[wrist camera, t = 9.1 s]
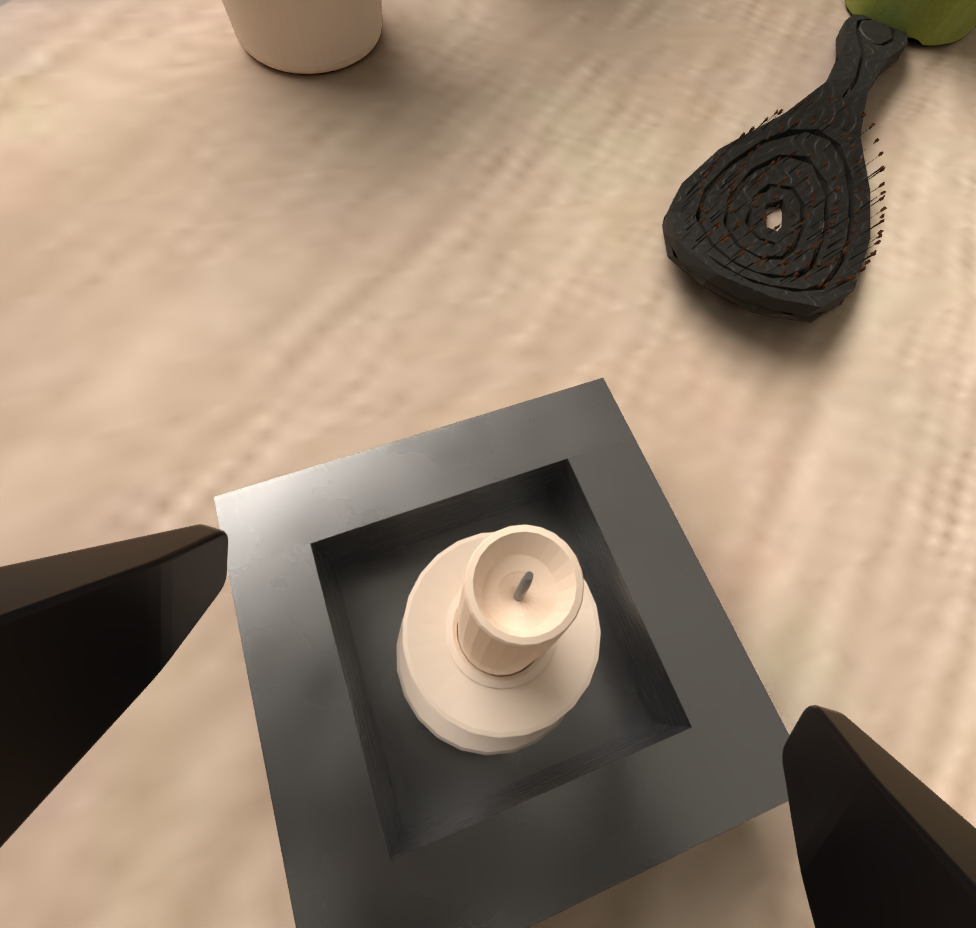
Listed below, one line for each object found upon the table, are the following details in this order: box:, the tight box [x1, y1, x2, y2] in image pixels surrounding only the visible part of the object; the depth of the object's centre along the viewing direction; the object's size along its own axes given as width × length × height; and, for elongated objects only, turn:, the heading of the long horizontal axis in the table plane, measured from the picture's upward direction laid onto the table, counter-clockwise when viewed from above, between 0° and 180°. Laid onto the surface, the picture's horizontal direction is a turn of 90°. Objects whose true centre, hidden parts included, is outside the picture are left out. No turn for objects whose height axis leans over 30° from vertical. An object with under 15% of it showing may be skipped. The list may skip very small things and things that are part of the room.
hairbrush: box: [662, 14, 908, 323], centre depth 25 cm, size 8×4×25 cm
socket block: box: [214, 378, 789, 928], centre depth 15 cm, size 11×11×4 cm
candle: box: [397, 525, 601, 755], centre depth 11 cm, size 5×5×10 cm
